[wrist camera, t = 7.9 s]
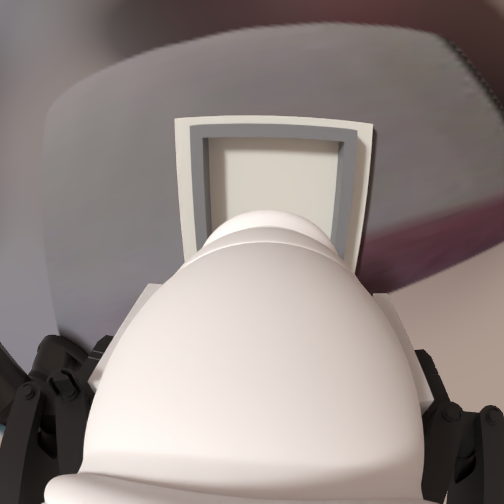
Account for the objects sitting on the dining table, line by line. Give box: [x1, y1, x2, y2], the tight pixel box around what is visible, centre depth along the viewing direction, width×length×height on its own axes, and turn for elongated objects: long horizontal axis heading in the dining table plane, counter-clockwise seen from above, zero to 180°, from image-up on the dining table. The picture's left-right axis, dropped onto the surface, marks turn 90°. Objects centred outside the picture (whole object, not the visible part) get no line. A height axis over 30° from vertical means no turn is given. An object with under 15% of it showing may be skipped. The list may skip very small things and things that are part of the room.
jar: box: [42, 209, 438, 504], centre depth 11 cm, size 11×10×15 cm
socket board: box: [175, 116, 373, 274], centre depth 30 cm, size 20×18×4 cm
